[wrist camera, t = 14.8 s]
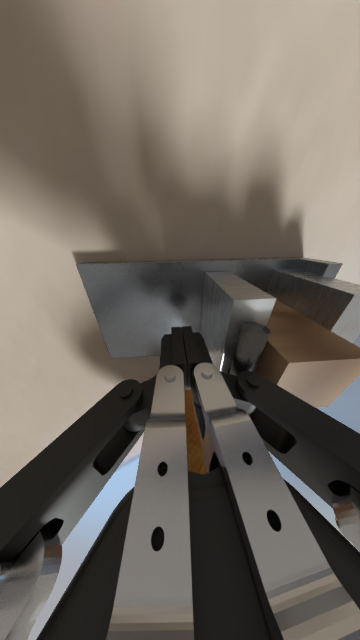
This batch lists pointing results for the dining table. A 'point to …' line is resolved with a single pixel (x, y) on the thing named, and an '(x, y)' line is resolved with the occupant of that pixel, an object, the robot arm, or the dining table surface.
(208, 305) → the block
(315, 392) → the walnut block
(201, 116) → the dining table surface
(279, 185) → the dining table surface
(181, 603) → the robot arm
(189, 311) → the vise bed
